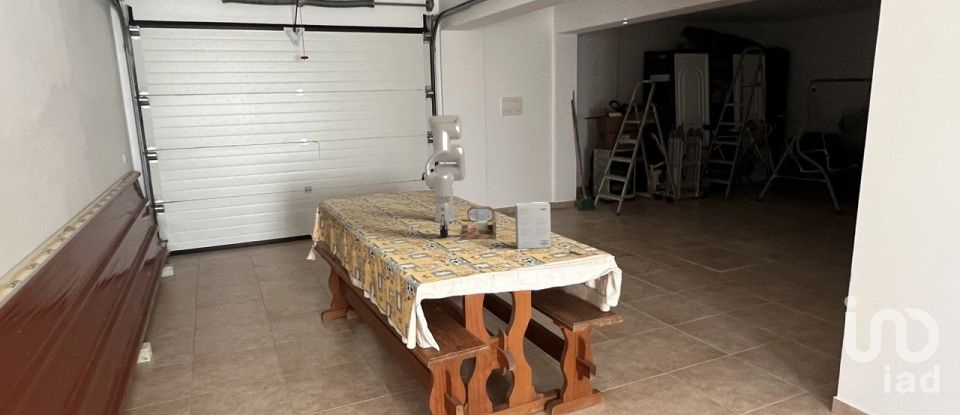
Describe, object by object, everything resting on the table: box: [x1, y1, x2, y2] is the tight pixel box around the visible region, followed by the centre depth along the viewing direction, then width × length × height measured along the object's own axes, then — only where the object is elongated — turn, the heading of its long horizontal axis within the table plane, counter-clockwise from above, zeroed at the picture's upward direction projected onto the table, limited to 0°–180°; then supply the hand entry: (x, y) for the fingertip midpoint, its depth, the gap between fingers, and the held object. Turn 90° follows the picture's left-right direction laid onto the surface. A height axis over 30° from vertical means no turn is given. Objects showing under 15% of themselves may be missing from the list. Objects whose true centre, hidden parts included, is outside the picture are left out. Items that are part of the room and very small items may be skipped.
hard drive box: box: [514, 201, 552, 250], centre depth 267 cm, size 16×8×20 cm, turn 92°
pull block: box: [439, 224, 480, 239], centre depth 290 cm, size 19×5×6 cm, turn 90°
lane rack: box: [459, 212, 497, 241], centre depth 295 cm, size 18×23×8 cm
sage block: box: [477, 221, 489, 230], centre depth 301 cm, size 5×5×5 cm
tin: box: [466, 205, 495, 223], centre depth 324 cm, size 15×3×8 cm, turn 84°
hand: (444, 235), depth 290 cm, fingers closed on pull block, 4 cm apart
